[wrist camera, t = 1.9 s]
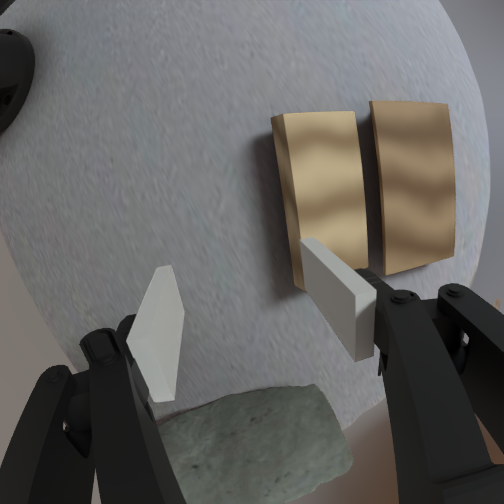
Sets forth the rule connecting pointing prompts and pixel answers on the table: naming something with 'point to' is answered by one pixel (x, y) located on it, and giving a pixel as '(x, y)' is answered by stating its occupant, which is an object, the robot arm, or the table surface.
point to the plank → (322, 185)
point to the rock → (256, 447)
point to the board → (415, 182)
